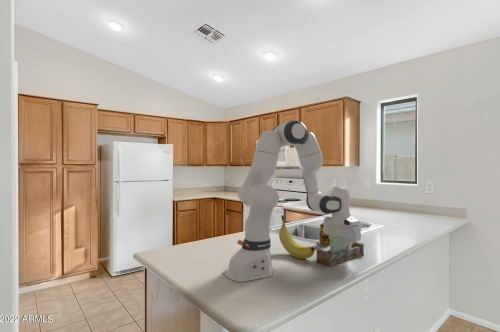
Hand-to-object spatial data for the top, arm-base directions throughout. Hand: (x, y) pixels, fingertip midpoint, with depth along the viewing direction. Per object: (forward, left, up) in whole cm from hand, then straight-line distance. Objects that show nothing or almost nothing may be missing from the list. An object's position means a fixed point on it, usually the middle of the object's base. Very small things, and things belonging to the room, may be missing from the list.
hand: (340, 246), depth 136 cm
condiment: (+13, +21, -6) cm, 26 cm away
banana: (-16, +15, -6) cm, 23 cm away
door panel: (0, 0, -5) cm, 5 cm away
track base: (0, 0, -6) cm, 6 cm away
